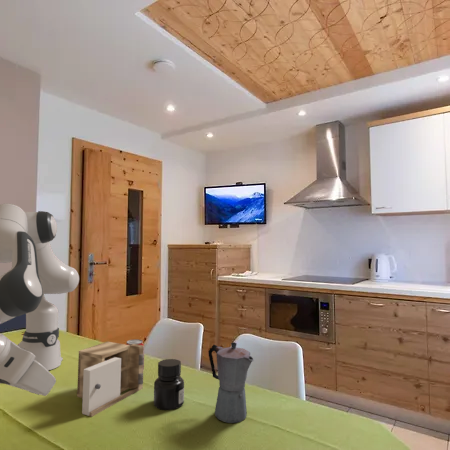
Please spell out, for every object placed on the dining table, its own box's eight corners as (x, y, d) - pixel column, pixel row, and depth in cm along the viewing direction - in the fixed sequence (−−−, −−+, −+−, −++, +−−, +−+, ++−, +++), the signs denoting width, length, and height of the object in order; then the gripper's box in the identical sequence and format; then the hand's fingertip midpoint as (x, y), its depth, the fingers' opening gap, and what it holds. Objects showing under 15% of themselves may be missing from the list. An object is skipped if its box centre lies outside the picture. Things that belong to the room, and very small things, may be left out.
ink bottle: (188, 407, 97) (189, 365, 98) (158, 414, 93) (159, 370, 94) (177, 394, 106) (178, 356, 107) (150, 400, 102) (150, 359, 103)
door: (82, 413, 93) (83, 369, 94) (114, 396, 104) (115, 357, 104) (90, 416, 91) (92, 371, 92) (122, 399, 102) (123, 358, 103)
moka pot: (245, 431, 85) (245, 350, 86) (196, 415, 93) (197, 341, 94) (261, 415, 93) (261, 341, 94) (215, 401, 101) (216, 334, 102)
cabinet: (56, 406, 97) (58, 357, 98) (110, 381, 116) (112, 340, 117) (95, 418, 91) (96, 365, 92) (145, 389, 109) (146, 346, 110)
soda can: (138, 379, 118) (139, 344, 119) (120, 377, 119) (120, 343, 120) (146, 372, 125) (147, 339, 126) (129, 370, 126) (130, 338, 127)
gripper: (-43, 367, 74) (1, 395, 82) (14, 383, 65) (57, 413, 73) (-20, 341, 79) (20, 370, 87) (36, 353, 69) (75, 384, 77)
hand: (37, 390), depth 80 cm, fingers closed
